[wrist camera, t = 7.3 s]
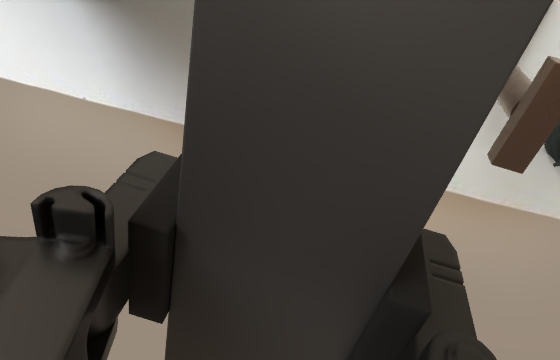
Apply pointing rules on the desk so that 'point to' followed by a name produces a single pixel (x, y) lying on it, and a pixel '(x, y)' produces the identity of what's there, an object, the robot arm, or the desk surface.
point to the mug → (554, 144)
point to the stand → (527, 116)
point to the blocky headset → (321, 160)
